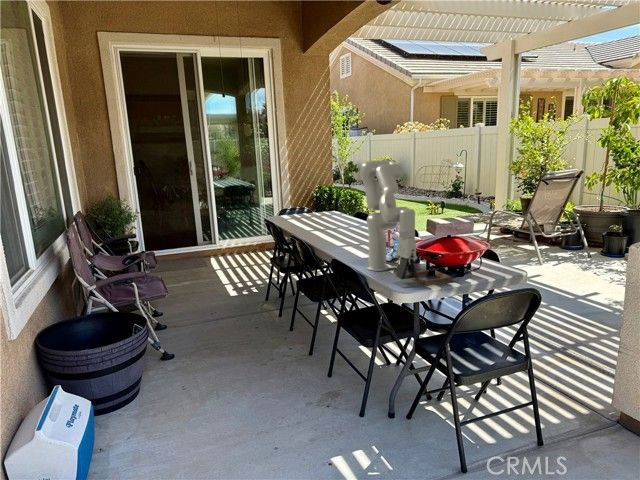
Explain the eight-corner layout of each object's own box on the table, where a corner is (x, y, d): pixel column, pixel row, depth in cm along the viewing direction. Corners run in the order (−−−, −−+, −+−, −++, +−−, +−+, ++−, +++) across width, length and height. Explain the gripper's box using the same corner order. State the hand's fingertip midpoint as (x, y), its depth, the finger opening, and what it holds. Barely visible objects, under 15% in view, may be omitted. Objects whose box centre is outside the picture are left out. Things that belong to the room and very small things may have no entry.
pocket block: (406, 278, 230) (406, 273, 230) (431, 273, 236) (431, 269, 236) (425, 286, 216) (425, 281, 215) (451, 281, 222) (451, 276, 222)
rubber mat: (392, 282, 223) (392, 281, 223) (409, 279, 227) (409, 278, 227) (404, 288, 214) (404, 287, 214) (421, 285, 218) (421, 284, 218)
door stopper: (401, 279, 216) (401, 255, 214) (395, 276, 222) (395, 252, 219) (417, 277, 218) (418, 253, 216) (412, 274, 224) (412, 251, 222)
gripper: (390, 232, 222) (390, 267, 226) (411, 238, 206) (410, 275, 210) (403, 230, 225) (403, 265, 229) (424, 236, 209) (423, 273, 213)
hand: (406, 269), depth 219 cm, fingers closed on door stopper, 6 cm apart
